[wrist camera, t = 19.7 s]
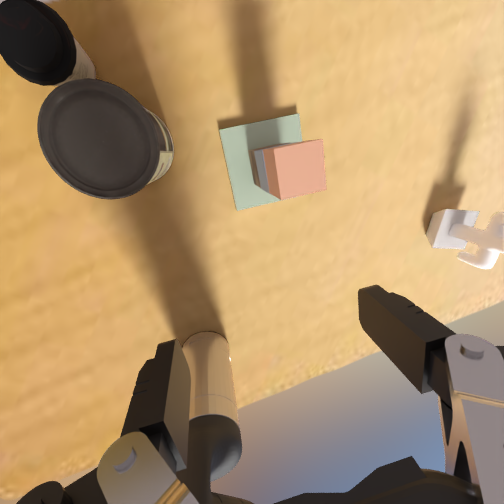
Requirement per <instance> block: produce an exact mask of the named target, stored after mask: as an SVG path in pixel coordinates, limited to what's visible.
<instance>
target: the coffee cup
mask: <svg viewBox="0 0 504 504" xmlns="http://www.w3.org/2000/svg"><path fill="white" fill-rule="evenodd" d="M0 54H1V56H2V57H3V59H4V60H5V62H6V63H7V65H9V66H10V67H11V68H12V69H13V70H14V71H15V72H16V73H17V74H18V75H19V76H21V77H23V78H25V79H26V80H28V81H30V82H32V83H36V84H39V85H43V86H46V85H54V86H60V85H62V84H64V83H66V82H68V81H72V80H76V79H85V78H89V79H96V71H95V67H94V64H93V63H92V61H91V59H90V58H89V56H88V55H87V54H86V52H85V51H84V50H83V48H82V47H81V46H80V45H79V43H78V42H77V41H76V39H75V38H74V37H73V35H72V33H71V31H70V30H69V28H68V26H67V24H66V23H65V21H64V20H63V19H62V18H61V17H60V16H59V15H58V14H57V12H56V11H54V10H53V9H51V8H50V7H49V6H47V5H46V4H44V3H43V2H40V1H37V0H5V1H3V2H2V3H1V4H0Z"/></svg>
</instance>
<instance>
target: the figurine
mask: <svg viewBox="0 0 504 504" xmlns="http://www.w3.org/2000/svg"><path fill="white" fill-rule="evenodd" d="M479 212H480V211H467V210H454V209H444V210H441V211H438V212H435V213H433V215H432V218H431V221H430V224H429V227H428V230H427V233H426V236H427V238H428V240H429V242H430V244H431V246H432V248H447V249H465V247H466V244H467V242H471V243H474V244H477V245H478V246H479V247H478V249H477V252H476V254H475V255H473V254H471V253H468V252H460V253H458V254H457V258H458V259H459V260H461V261H463V262H466V263H468V264H470V265H473V266H475V267H478V268H482V269H490V268H492V267H493V266H494V264H495V262H496V260H497V258H498V255H499V253H500V252H501V253H503V254H504V212H497V213H494V214H493V215H492V216H491V218H490V221H489V223H488V226H487V228H486V230H481V229H477V228H474V224H475V222H476V219H477V217H478V214H479Z"/></svg>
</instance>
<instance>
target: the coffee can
mask: <svg viewBox="0 0 504 504" xmlns="http://www.w3.org/2000/svg"><path fill="white" fill-rule="evenodd" d="M37 130H38V138H39V142H40V146H41V149H42V151H43V154H44V156H45V158H46V160H47V161H48V163H49V165H50V166H51V167H52V169H53V170H54V171H55V172H56V174H57V175H58V176H59V177H60V178H61V179H62V180H63V181H65V182H66V183H67V184H69V185H70V186H71V187H73V188H74V189H76V190H78V191H80V192H82V193H84V194H87V195H89V196H92V197H96V198H101V199H120V198H124V197H128V196H131V195H133V194H135V193H137V192H138V191H140V190H141V189H142V188H144V187H145V186H146V185H148V184H149V183H151V182H153V181H155V180H157V179H159V178H161V177H162V176H163V175H164V174H165V173H166V172H167V171H168V169H169V168H170V166H171V163H172V160H173V156H174V145H173V140H172V137H171V134H170V132H169V130H168V128H167V127H166V125H165V124H164V122H163V121H162V120H161V119H160V118H159V117H158V116H156V115H155V114H154V113H152V112H151V111H149V110H147V109H146V108H145V107H143V106H142V105H141V104H140V103H139V102H138V101H137V100H136V99H135V98H134V97H133V96H132V95H130V94H129V93H128V92H126V91H125V90H123V89H122V88H120V87H118V86H116V85H113V84H111V83H109V82H105V81H102V80H97V79H89V78H85V79H76V80H72V81H68V82H66V83H64V84H62V85H60V86H58V87H57V88H55V89H54V90H53V91H52V92H51V93H50V94H49V95H48V96H47V98H46V99H45V101H44V102H43V104H42V106H41V109H40V112H39V116H38V126H37Z"/></svg>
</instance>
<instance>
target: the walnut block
mask: <svg viewBox="0 0 504 504" xmlns="http://www.w3.org/2000/svg"><path fill="white" fill-rule="evenodd" d="M289 143H290V142H289ZM283 144H288V143H281V144H276V145H271V146H266V147H262V148H257V149H252V150H248V154H249V159H250V165H251V170H252V175H253V181H254V184H255V185H256V186H258V187H260V188H261V186H260V180H259V175H258V170H257V164H256V159H255V154H254V151H257V150H261V149H265V148H270V147H274V146H279V145H283Z"/></svg>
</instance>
